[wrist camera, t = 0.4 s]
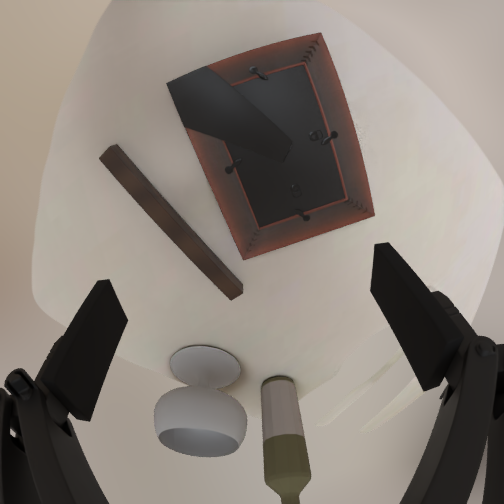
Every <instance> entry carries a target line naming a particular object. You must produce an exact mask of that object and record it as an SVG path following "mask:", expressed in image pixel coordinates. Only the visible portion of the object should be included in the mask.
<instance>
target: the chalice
mask: <svg viewBox="0 0 504 504" xmlns="http://www.w3.org/2000/svg"><path fill="white" fill-rule="evenodd" d="M170 366H171V370H172V372H173V373H174V374H175V376H176V377H177V378H179V379H180V380H181V381H182V382H184V383H186V384H188V385H191V386H187V387H181V388H176V389H173V390H171V391H169V392H167V393H166V394H164V395H163V396H161V398H160V399H159V400H158V402H157V403H156V406H155V409H154V426H155V431H156V434H157V437H158V438H159V440H160V442H161V443H162V444H163V445H165V446H166V447H168V448H169V449H172V450H174V451H176V452H179V453H182V454H186V455H191V456H198V457H219V456H225V455H229V454H231V453H233V452H235V451H236V450H237V449H238V448H239V447H240V445H241V443H242V442H243V440H244V437H245V434H246V429H247V415H246V412H245V410H244V408H243V406H242V405H241V404H240V403H239V402H238V401H237V400H236V399H235V398H233V397H232V396H230V395H228V394H226V393H224V392H222V391H219V390H216V389H217V388H223V387H225V386H228V385H230V384H232V383H233V382H235V381H236V380H237V379H238V377H239V375H240V370H241V369H240V365H239V363H238V362H237V360H236V359H235V358H234V357H233V356H232V355H230V354H228V353H227V352H225V351H222V350H220V349H217V348H213V347H207V346H192V347H188V348H184V349H182V350H180V351H178V352H177V353H175V354H174V355H173V357H172V358H171V362H170Z"/></svg>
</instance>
